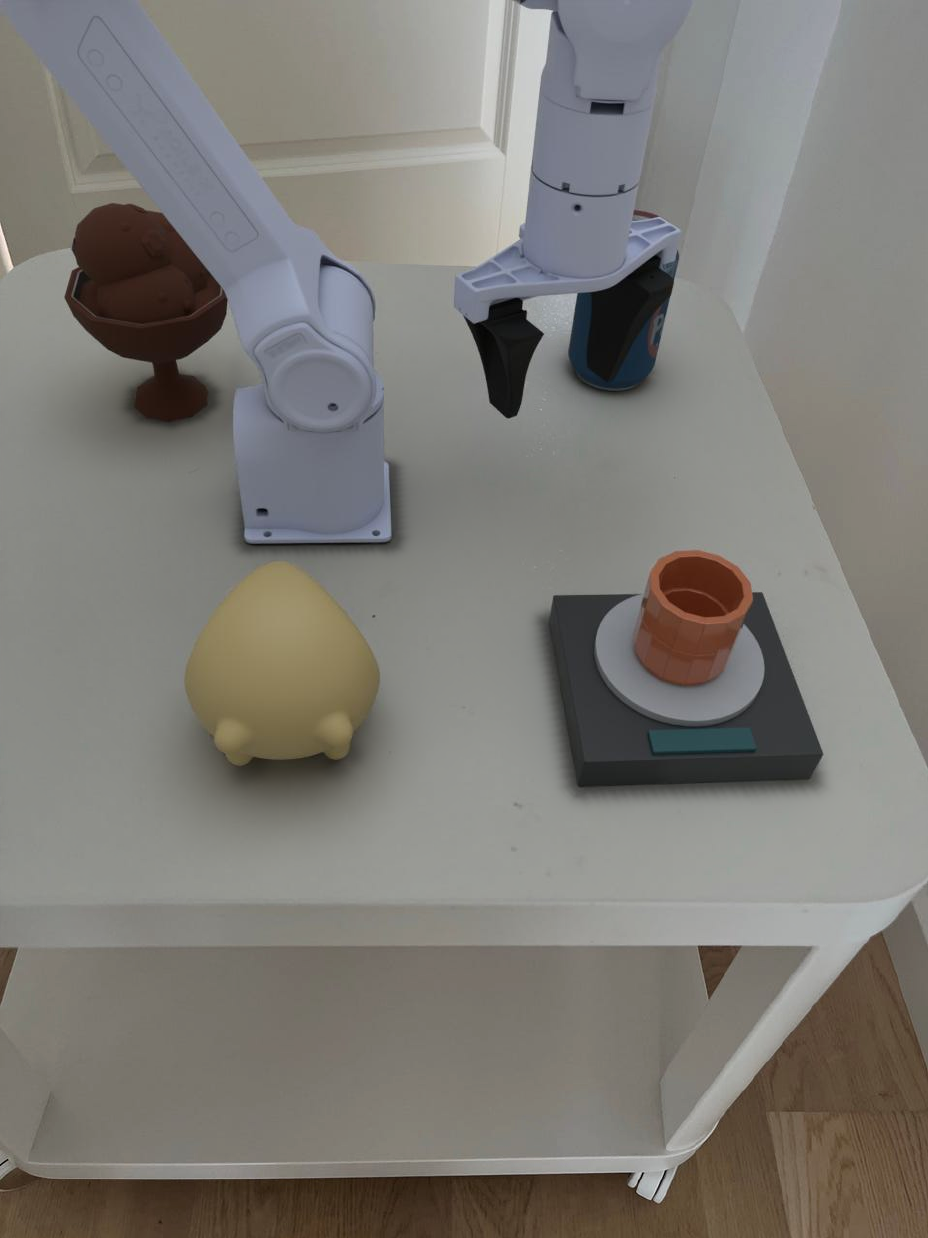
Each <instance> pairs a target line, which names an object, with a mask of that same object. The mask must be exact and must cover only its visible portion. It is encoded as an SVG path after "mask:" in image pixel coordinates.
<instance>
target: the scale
mask: <svg viewBox="0 0 928 1238" xmlns="http://www.w3.org/2000/svg"><path fill="white" fill-rule="evenodd" d="M752 595H753V602H752V604H751V607H750V609H749V612H748V614H747V617H746V619H745V622H744V624H743V627H742V629H741V632H740V634H739V637H738V640H737V642H736V645H735V647H734V650H733V652H732V655H731V657H730V660H729V661H728V663H727V665H726V667H725V669H724V671H723V672H722V673H721V674H719V675H717V676H716V677H714V678H712V679H711V680H709V681H707V682H705V683H702V684H698V685H689V686H687V685H677V684H673V683H669V682H666V681H664V680H662V679H660V678H658V677H656V676H655V675H653V674H652V673H651V672H649V671H648V670H647V669H646V668H645V667H644V665H643V664H642V663H641V661H640V659H639V657H638V655H637V653H636V651H635V649H634V637H633V633H634V629H635V625H636V622H637V618H638V614H639V611H640V607H641V603H642V600H643V596H644V593H620V594H619V593H618V594H615V593H614V594H554V595H553V596H552V601H551V607H550V611H549V612H550V613H549V618H548V625H549V631H550V637H551V643H552V647H553V653H554V659H555V664H556V671H557V676H558V682H559V687H560V693H561V698H562V705H563V710H564V715H565V716H564V717H565V721H566V728H567V732H568V738H569V744H570V749H571V755H572V761H573V766H574V774H575V778H576V785H577V787H602V786H603V787H604V786H629V785H630V786H631V785H633V786H634V785H636V786H637V785H661V784H662V785H664V784H691V783H692V784H693V783H694V784H695V783H722V782H723V783H725V782H726V783H727V782H753V781H754V782H757V781H784V780H786V781H787V780H809V779H811V778H812V776H813V774H814V773H815V771H816V769H817V767H818V765H819V764H820V762H821V760H822V758H823V756H824V752H823V749H822V747H821V744H820V741H819V738H818V736H817V732H816V731H815V728H814V725H813V722H812V720H811V718H810V715H809V711H808V709H807V707H806V704H805V701H804V699H803V696H802V694H801V691H800V689H799V685H798V682H797V680H796V678H795V674H794V672H793V669H792V667H791V664H790V662H789V659H788V656H787V653H786V651H785V648H784V646H783V643H782V640H781V638H780V636H779V633H778V630H777V627H776V625H775V621H774V620H773V618H772V613H771V612H770V609H769V606H768V604H767V600H766V598H765V596H764V592H762V591H752Z"/></svg>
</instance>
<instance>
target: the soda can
mask: <svg viewBox="0 0 928 1238" xmlns="http://www.w3.org/2000/svg"><path fill="white" fill-rule="evenodd" d="M656 217H661V218H663V219H664V220H666V221H667V222H669V223H671V222H670V221H669V220H667V219H666V218H665V217H662V216H660V215H658V214H655V213H652V212H649V211H644V210H639V209H634V212H633V218H632V221H640V220H647V219H652V218H656ZM679 252H680V251H679V248H678V249H677V254H676V258H675V261H673V262H670V263H667V264H660V266H659V268H660V269H662V270H663V271H664V272H666V273H667V274H669V275H670V276H671V277H672V278H673V279H674V280H675V278H676V273H677V268H678V265H679V260H680V253H679ZM576 294H577V295H576V300H575V305H574V313H573V318H572V324H571V330H570V336H569V337H570V338H569V344H568V350H567V351H568V352H567V353H568V359H569V361H570V364H571V366H572V368H573V370H574V372H575V374H576V376H577V377H578V378H579V379H580V380H581V381H582V382H584V383H585V384H586V385H588V386H591V387H593V388H595V389H599V390H603V391H611V392H619V391H627V390H630V389H633V388H634V387H637V386H638V385H639V384H640V383H642V382H643V381H644V380H645V379H646V378H647V377H648V376H649V375H650V374H651V372H652V371H653V369H654V367H655V365H656V360H657V356H658V352H659V348H660V343H661V339H662V335H663V330H664V326H665V321H666V318H667V313H668V310H669V309H668V308H669V304H670V301H671V300H670V299H671V296H670V297H669V298H668V299H667V300H666V301H665V302H664V303H663V304H662V305H661V306H660V307H659V308H658V309H657V310H656V311H655V313H654V314H653V315H652V316H651V318H650V319H649V320H648V321H647V323H646V324H645V325H644V327H643V328H642V330H641V331H640V333H639V334H638V336H637V338H636V339H635V341H634V343H633V345H632V347H631V348H630V350H629V352H628V354H627V356H626V358H625V360H624V362H623V364H622V366H621V368H620V370H619V372H618V374H617V375H616V377H615V379H614V380H613V381H610V382H608V383H606V382H605V381H604V380H602V379H601V378H600V377H599V376H597V375H596V374H595V373H594V372H592V371H591V370H590V369H589V368H587V343H588V335H589V328H590V321H591V292H585V293H576Z"/></svg>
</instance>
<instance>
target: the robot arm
mask: <svg viewBox="0 0 928 1238" xmlns="http://www.w3.org/2000/svg"><path fill="white" fill-rule="evenodd" d="M512 1H513V2H514V3H516V4H518V5H520V6H522V7H524V8H526V9H529V10H546V11H551V13H550V23H549V30H548V39H547V49H546V57H545V58H546V59H545V64H544V66H543V68H542V71H541V75H540V82H539V92H538V101H537V109H536V119H535V129H534V138H533V148H532V155H531V156H532V157H531V165H530V173H529V184H528V193H527V202H526V210H525V211H526V212H525V221H524V223H521V224H520V225H519V230H518V238H519V239H518V240H517V241H515V242H514V243H512V244H511V245H509V246H507V247H506V248H504V249H503V250H501V251H500V252H498V253H496V254H495V255H493V256H492V257H490V258H488V259H487V260H486V261H484V262H483V263H481V264H479V265H477V266H475V267H473V268H471V269H468V270H466V271H463V272H459V273H456V274H455V276H454V293H453V307H454V309H456V310H457V311H458V312H459V313H460V314H461V315H462V317H463V318H464V321H465V323H466V324H467V326H468V329H469V331H470V334H471V335H472V337H473V340H474V343H475V345H476V347H477V351H478V354H479V358H480V361H481V364H482V368H483V372H484V377H485V383H486V388H487V394H488V400H489V401H488V402H489V404H490V405H492V406H493V407H494V409H496V410H497V412H499V413H500V414H501V415H502V416H503V417H504V418H505V419H511V418H514V417H517V416H518V414H519V412H520V409H521V407H522V404H523V403H522V402H523V398H524V397H523V396H524V389H525V383H526V378H527V373H528V370H529V367H530V364H531V361H532V359H533V356H534V353H535V351H536V349H537V348H538V346H539V344H540V342H541V340H542V338H543V337H544V336H545V333H544V332H543V331H541V329H539V328H538V327H537V326H536V325H534V324H533V323H532V322H531V321H529V319H527V317H528V310H527V309H523V307H524V305H523V304H524V301H526V300H530V299H533V298H536V297H543V296H558V295H570V294H577V293H585V292H591V321H590V328H589V335H588V343H587V368H589V369H590V370H591V371H592V372H594V373H595V374H596V375H597V376H599V377H600V378H601V379H602V380H604V381H605V382H606V383H608V382H610V381H613V380H614V379H615V377H616V375H617V374H618V372H619V370H620V368H621V366H622V364H623V362H624V360H625V358H626V356H627V354H628V352H629V350H630V348H631V347H632V345H633V343H634V341H635V339H636V338H637V336H638V334H639V333H640V331H641V330H642V328H643V327H644V325H645V324H646V323H647V321H648V320H649V319H650V318H651V316H652V315H653V314H654V313H655V311H656V310H657V309H658V308H659V307H660V306H661V305H662V304H663V303H664V302H665V301H666V300H667V299H668V298H669V297H670V298H671V296H672V293H673V290H674V284H675V278H674V279H673V278H672V277H671V276H670V275H669V274H667V273H666V272H664V271H663V270H662V269H660V268H659V266H660V264H667V263H670V262H673V261H675V258H676V254H677V249H678V250H679V244H680V240H681V235H682V229H680V228H678V227H676V226H675V225H673V224H672V223H671V222H670V221H668V220H667V219H666V220H667V221H668V222H667V221H666V220H664V219H665V218H664V217H662V216H660V217H656V218H652V219H647V220H640V221H632V218H633V212H634V210H635V208H636V207H635V206H636V201H637V196H638V191H639V186H640V180H641V177H642V171H643V166H644V160H645V156H646V149H647V145H648V139H649V134H650V129H651V124H652V118H653V113H654V108H655V102H656V98H657V92H658V84H657V81H658V77H659V72H660V66H661V60H662V55H663V50H664V49H665V48H666V47H667V45H669V44H670V43H671V41H673V39H674V38H675V37H676V35H677V34H678V33H679V32H680V30H681V28H682V27H683V25H684V22H686V19H687V17H688V15H689V13H690V10H691V6H692V3H693V0H512ZM0 12H1V13H2V14H3V16H4V17H5V19H6V20H7V21H8V22H9V23H10V25H11V26H12V27H13V29H14V30H15V31H16V33H18V34H19V36H20V37H21V39H22V40H23V41H24V42H25V44H27V46H28V48H29V49H31V51H32V52H33V53H34V54H35V56H36V57H37V58H38V60H39V61H40V62H41V63H42V64H43V66H44V67H45V68H46V70H47V71H48V72H49V73H50V75H51V76H52V77H53V79H54V80H55V81H56V82H57V83H58V84H59V86H60V87H61V88H62V90H63V91H64V92H65V94H66V95H67V96H68V97H69V98H70V99H71V101H72V102H73V103H74V104H75V106H76V107H77V108H78V110H79V111H80V112H81V113H82V115H83V116H84V117H85V118H86V120H87V121H88V122H89V124H90V125H91V126H92V127H93V129H94V130H95V131H96V132H97V134H98V135H99V136H100V137H101V138H102V140H103V141H104V142H105V144H106V145H107V146H108V147H109V149H111V152H112V153H113V154H115V156H116V157H117V158H118V160H119V161H120V162H121V163H122V165H123V166H124V167H125V168H126V170H127V172H129V173H130V175H131V176H132V177H133V179H134V180H135V181H136V182H137V184H138V185H139V186H140V187H141V189H142V190H143V191H144V192H145V193H146V195H147V196H148V197H149V199H150V200H151V201H152V202H153V203H154V205H155V206H156V207H157V208H158V210H159V211H160V213H163V215H164V216H165V217H166V218H167V220H168V221H169V222H170V223H171V225H172V226H173V227H174V228H175V230H176V231H177V232H178V233H179V235H180V236H181V237H182V238H183V240H184V241H185V242H186V243H187V245H188V246H189V247H190V248H191V250H192V251H193V252H194V253H195V255H196V256H197V257H198V258H199V260H200V261H201V262H202V263H203V265H204V266H205V267H206V268H207V270H208V271H209V272H210V273H211V275H212V276H213V277H214V278H215V280H216V281H217V282H218V283H219V285H220V286H221V287H222V288H223V290H224V292H225V294H226V297H227V299H228V302H227V304H228V305H229V309H230V312H231V316H232V319H233V322H234V326H235V329H236V332H237V335H238V339H239V341H240V345H241V346H242V350H243V351H244V352H245V353H246V354H247V356H248V357H249V358H250V359H251V361H252V362H253V363H254V365H255V366H256V367H257V370H258V371H259V374H260V377H261V382H262V383H258V384H255V385H250V386H249V385H248V386H242V387H238V388H236V389H235V391H234V398H233V406H232V407H233V411H232V434H233V435H232V436H233V451H234V460H235V461H234V462H235V468H236V475H237V482H238V484H237V485H238V491H239V496H240V504H241V510H242V518H243V525H244V533H243V536H244V540H245V542H246V543H247V544H253V545H254V544H325V543H326V544H340V543H342V544H343V543H346V544H347V543H387V542H389V541H391V539H392V514H391V513H392V512H391V490H390V489H391V488H390V484H391V483H390V464H389V463H388V462H387V461H385V387H384V382H383V380H382V377H381V376H380V375H379V373H378V372H377V370H376V369H375V367H374V366H375V365H374V362H375V361H374V355H375V354H374V353H375V352H374V322H375V320H376V310H377V309H376V308H377V305H376V304H377V303H376V296H375V294H374V290H373V288H372V286H371V284H370V282H369V281H368V279H367V278H366V277H365V276H364V275H363V273H361V272H360V271H359V270H358V269H357V268H355V266H353V265H351V264H349V262H346V261H344V260H343V259H341V258H339V257H338V256H336V255H334V254H333V253H332V251H330V250H329V249H328V247H327V246H326V245H325V244H324V242H323V241H322V239H321V238H320V236H319V235H318V233H316V232H315V231H313V230H312V229H309V228H306V227H304V226H301V225H298V224H296V223H295V222H293V220H292V219H291V218H290V216H289V215H288V213H287V212H286V210H285V208H283V206H282V205H281V203H280V202H279V200H278V199H277V197H276V196H275V195H274V193H273V192H272V190H271V189H270V187H269V186H268V185H267V183H266V182H265V181H264V179H263V177H262V176H261V174H260V173H259V171H257V169H256V168H255V166H254V164H253V163H252V161H251V160H250V159H249V157H248V156H247V155H246V153H245V152H244V150H243V149H242V148H241V146H240V145H239V143H238V142H237V140H236V139H235V138H234V136H233V134H232V133H231V132H230V130H229V129H228V127H227V125H225V123H224V122H223V120H222V119H221V118H220V116H219V115H218V113H217V112H216V110H215V109H214V108H213V106H212V105H211V103H210V101H209V100H208V98H206V96H205V94H204V93H203V92H202V90H201V89H200V87H199V86H198V84H197V83H196V82H195V80H194V79H193V77H192V76H191V75H190V73H189V72H188V70H187V69H186V67H185V66H184V64H183V62H182V61H180V59H179V57H178V56H177V54H176V53H175V52H174V50H173V49H172V47H171V46H170V45H169V43H168V42H167V40H166V39H165V37H164V35H162V33H161V32H160V30H159V29H158V27H157V26H156V25H155V23H154V21H153V20H152V18H151V17H150V16H149V14H148V13H147V12H146V10H145V8H144V7H143V6H142V4H141V3H140V1H139V0H0ZM661 217H662V218H661ZM663 218H664V219H663ZM669 222H670V223H669Z"/></svg>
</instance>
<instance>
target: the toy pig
mask: <svg viewBox="0 0 928 1238" xmlns="http://www.w3.org/2000/svg"><path fill="white" fill-rule="evenodd" d="M183 681H184V683H183V684H184V690H185V694H186V697H187V700H188V702H189V705H190V707H191V709H192V711H193V713H194V715H195V716H196V718H197V720H198V721H199V722H200V724H201V725H202V726H203V728H204V729H205V730H206V731H207V732H208V733H209V734H210V735H211V736H212V737H213V740H214V745H215V747H216V748H217V749H218V750H219V751H220V752H222V753H224V754H225V756H226V759H227V760H228V761H229V763H231V764H232V765H235V766H238V767H239V766H241V767H242V766H245V765H247V764H248V763H250V761H252V759H253V758H259V759H265V760H296V759H303V758H307V757H311V756H316V755H318V754H321V753H323V754H324V755H325V756H326V757H327V758H328V759H330V760H334V761H336V760H337V761H338V760H341V759H344V758H345V757H346V756H347V755H348V753H349V752H350V749H351V740H352V738H353V736H354V732H356V731H357V730H358V728H359V727H360V726H361V725H362V724H363V723H364V721H365V719H366V718H367V716H368V715H369V713H370V711H371V710H372V707H373V705H374V703H375V701H376V699H377V696H378V695H377V694H378V692H379V688H380V683H381V671H380V667H379V664H378V661H377V659H376V656H375V654H374V652H373V650H372V647H370V645H369V643H368V641H367V640H366V638H365V637H364V635H363V634H362V632H361V631H360V629H359V627H358V626H357V625H356V623H355V622H354V621H353V620H352V618H351V617H350V616H349V614H348V613H347V612H346V611H345V610H344V608H343V607H342V606H341V605H340V604H339V603H338V602H337V600H335V598H334V597H333V595H331V594H330V593H329V592H328V591H327V590H326V589H325V588H324V586H322V585H321V584H320V583H319V582H318V581H317V580H316V579H315V578H313V577H312V576H311V575H309V573H307V572H306V571H304V570H303V569H301V568H300V567H298V566H296V565H295V564H293V563H290V562H288V561H284V560H275V561H270V562H267V563H265V564H263V565H261V566H259V567H257V568H256V569H254V570H253V571H251V572H250V573H248V574H247V575H246V576H245V577H244V578H242V579H241V580H240V581H239V582H238V583H237V584H236V585H235V586H234V587H233V589H231V590H230V592H228V594H227V595H226V596H225V598H224V599H223V600H222V601H221V602H220V604H219V605H218V606H217V608H215V610H214V611H213V612H212V615H211V616H210V617H209V619H208V620H207V622H206V624H204V626H203V628H202V629H201V631H200V633H199V634H198V636H197V639H196V640H195V642H194V644H193V647H192V649H191V651H190V654H189V657H188V660H187V663H186V666H185V671H184V679H183Z"/></svg>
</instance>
